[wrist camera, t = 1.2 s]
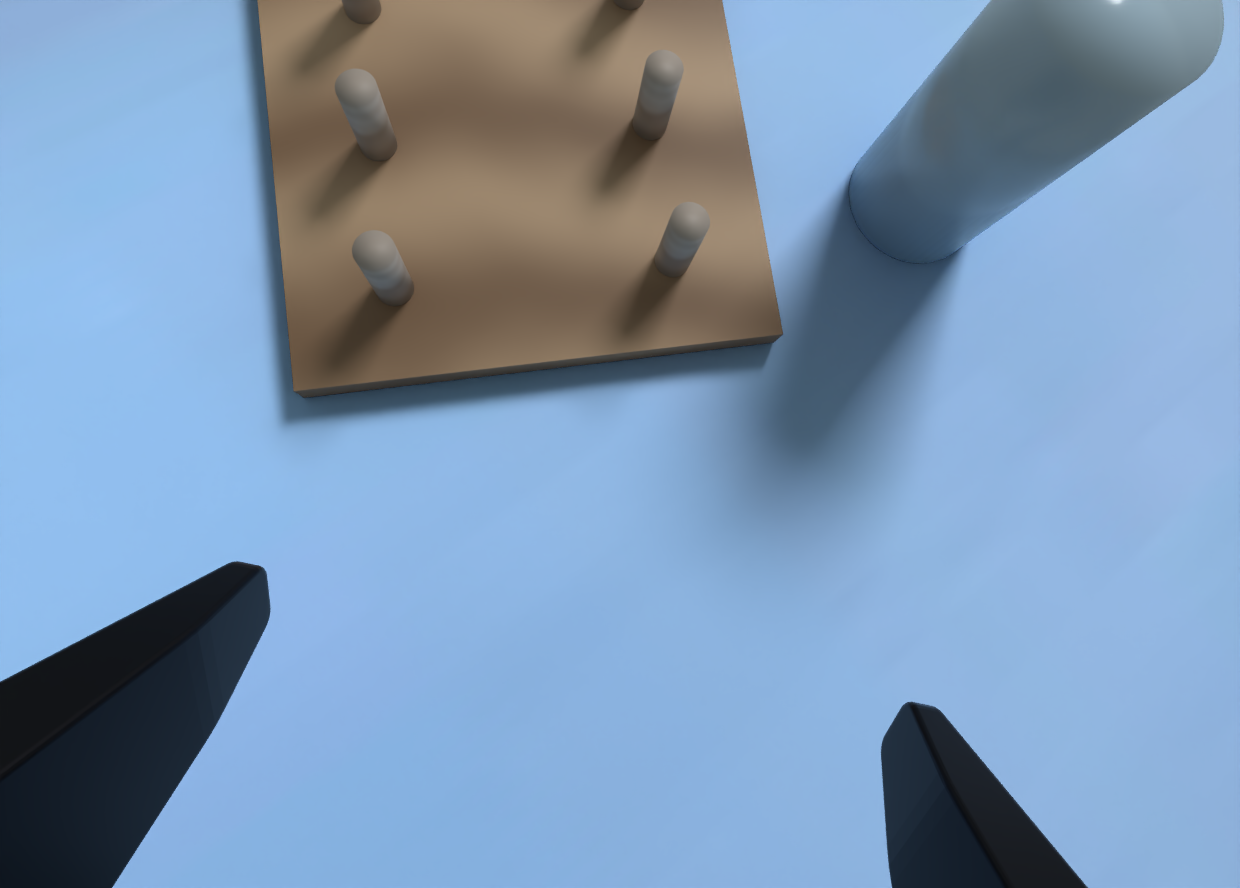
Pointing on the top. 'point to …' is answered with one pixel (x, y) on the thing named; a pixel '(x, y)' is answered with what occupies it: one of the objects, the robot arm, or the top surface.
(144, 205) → the top surface
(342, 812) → the top surface
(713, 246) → the dish rack
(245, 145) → the top surface
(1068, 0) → the grey dome-topped cylinder
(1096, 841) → the top surface
